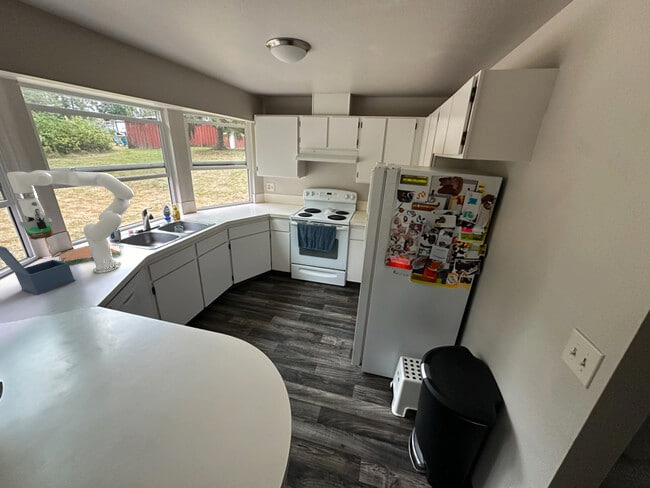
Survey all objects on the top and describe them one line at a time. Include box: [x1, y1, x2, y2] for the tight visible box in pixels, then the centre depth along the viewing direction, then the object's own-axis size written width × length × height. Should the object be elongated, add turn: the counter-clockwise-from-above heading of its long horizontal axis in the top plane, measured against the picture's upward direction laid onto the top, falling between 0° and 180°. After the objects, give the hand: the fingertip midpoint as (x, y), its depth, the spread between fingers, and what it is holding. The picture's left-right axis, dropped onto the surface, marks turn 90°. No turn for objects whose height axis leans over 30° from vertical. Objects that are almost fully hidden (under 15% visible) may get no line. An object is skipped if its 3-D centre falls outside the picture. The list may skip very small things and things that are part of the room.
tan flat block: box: [58, 243, 121, 266], centre depth 184 cm, size 23×33×8 cm
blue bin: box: [13, 259, 76, 295], centre depth 144 cm, size 17×15×12 cm
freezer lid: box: [0, 245, 30, 275], centre depth 128 cm, size 17×15×5 cm
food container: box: [18, 217, 54, 240], centre depth 138 cm, size 12×6×10 cm, turn 138°
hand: (38, 227), depth 138 cm, fingers closed on food container, 7 cm apart
